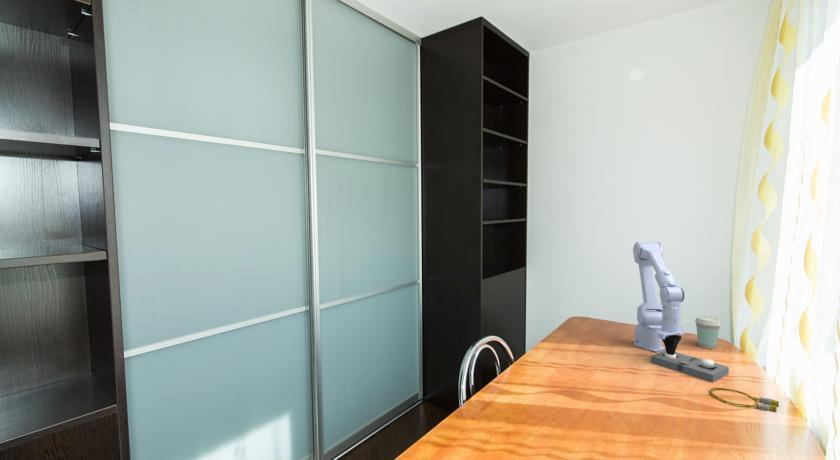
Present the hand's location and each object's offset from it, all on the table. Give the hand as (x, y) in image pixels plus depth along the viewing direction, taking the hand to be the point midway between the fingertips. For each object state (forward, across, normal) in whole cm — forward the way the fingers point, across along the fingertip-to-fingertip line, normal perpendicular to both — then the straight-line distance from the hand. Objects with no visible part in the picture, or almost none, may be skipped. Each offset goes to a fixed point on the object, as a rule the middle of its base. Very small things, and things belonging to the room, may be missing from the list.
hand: (670, 354), depth 144 cm
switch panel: (+3, 0, -6) cm, 7 cm away
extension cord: (+4, -13, -26) cm, 29 cm away
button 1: (+2, 0, 0) cm, 2 cm away
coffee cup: (+3, +30, 0) cm, 30 cm away
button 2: (0, 0, -12) cm, 12 cm away
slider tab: (+1, -3, -6) cm, 7 cm away
